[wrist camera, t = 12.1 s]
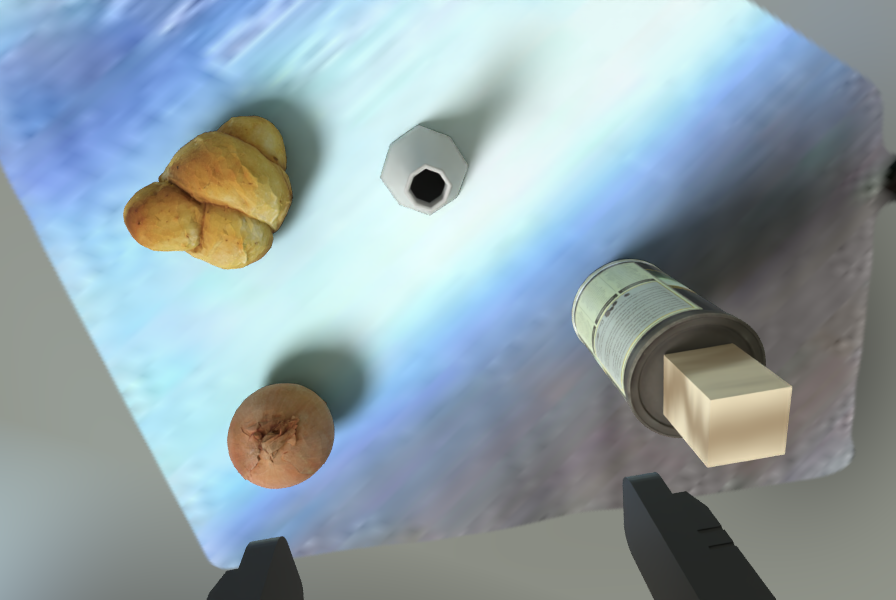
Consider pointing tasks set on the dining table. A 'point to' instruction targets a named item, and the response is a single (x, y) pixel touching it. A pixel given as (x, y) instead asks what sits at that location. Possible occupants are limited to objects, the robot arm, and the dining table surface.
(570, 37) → the dining table surface
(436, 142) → the flask
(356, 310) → the dining table surface
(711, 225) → the dining table surface
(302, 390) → the onion
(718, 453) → the maple block
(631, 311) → the coffee can
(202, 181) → the bread roll
